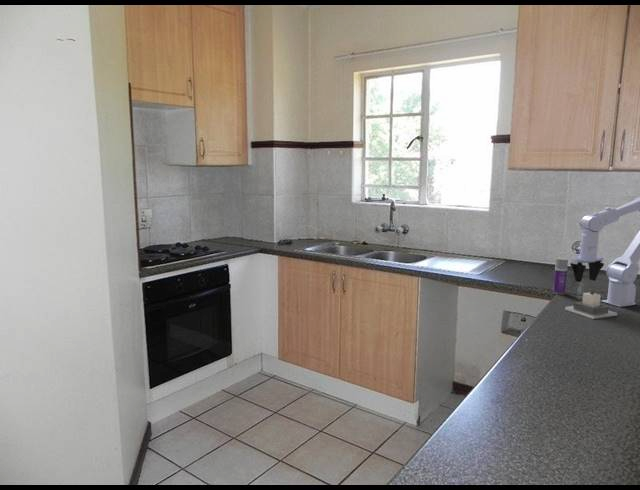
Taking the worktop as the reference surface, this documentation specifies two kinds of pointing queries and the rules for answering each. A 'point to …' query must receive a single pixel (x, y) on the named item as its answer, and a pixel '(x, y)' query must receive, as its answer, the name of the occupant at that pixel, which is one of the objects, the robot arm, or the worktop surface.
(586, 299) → the plug
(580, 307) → the socket plate
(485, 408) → the worktop surface
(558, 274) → the container
